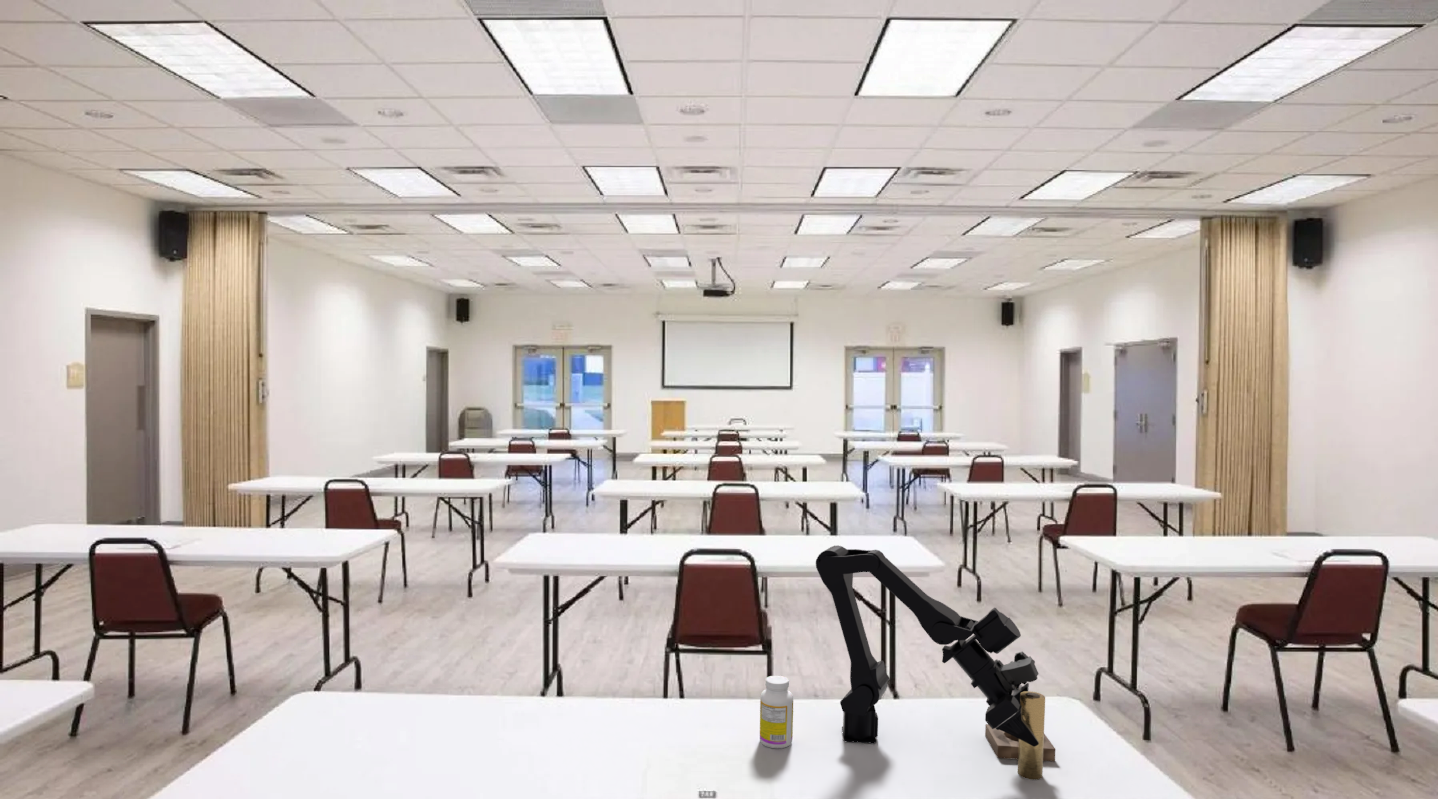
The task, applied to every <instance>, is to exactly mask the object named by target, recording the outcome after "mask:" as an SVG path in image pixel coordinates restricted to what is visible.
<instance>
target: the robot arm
mask: <svg viewBox="0 0 1438 799" xmlns="http://www.w3.org/2000/svg"><path fill="white" fill-rule="evenodd" d="M815 567H816V571H817V572H818V574H819V577H820V579H821V581H822V583H823V584H824V585H825V587H826V589H827V590H828V591H829V592H830V594H831V597H832V600H833V604H834V607H835V611H836V613H837V618H838V621H839V625H840V628H841V631H842V635H843V639H844V642H845V646H846V649H847V652H848V653H847V654H848V657H849V659H850V661H849V662H850V672H849V680H850V681H849V682H850V688H851V689H850V690H849V691H848V692H847V693H846V694H845V696H844V697H843V698H841V700H840V701H839V703H840V706H841V710H842V712H843V713H842V715H843V717H842V719H843V720H842V726H841V733H842V732H843V733H842V738H843V739H844V740H843V739H842V740H843V742H845V741H847V742H846V743H861V744H876V743H877V739H876V738H878V734H879V733H878V732H879V716H878V713H877V712H876V707H875V705H876V704H877V703H878V702H879V700H881V699H882V697H883V696H884V694H885V693H886V691H887V689H888V681H889V680H890V676H888V674H887V672H886V664H885V662H884V660H880V661H877V660H876V658H875V657H874V656H873V653H872V652H871V648H870V645H869V641H868V637H867V633H866V630H865V626H864V623H863V620H862V616H861V612H860V610H859V605H858V603H857V599H856V596H855V592H854V588H853V587H854V586H853V583H854V582H853V579H854V576H853V575H854V574H857V573H869V574H871V575H872V576H873V577H874V578H875V579H876V580H878V581H879V583H880V584H882V586H884V587H885V588H886V589H887V590H888V591H889V592H891V593H892V594H893V595H894V597H896V599H898V600H899V601H900V602H901V603H902V604H903V605H905V607H907V608H908V609H909V610H910V611H911V612H912V614H914V616H915V618H916V619H917V620H918V622H919V624H920V627H921V628H922V629H923V630H924V632H926V635H928V636H929V638H930V639H931V640H932V642H934V643H936V644H938V645H941V646H942V649H941V651H942V660H941V662H942V664H945V663H946V664H947V662H948V661H950V660H951V659H953V660H954V661H955V662H956V664H957V665H958V666H959V667H960V668H961V669H962V671H964V673H965V674H966V675H967V676H968V677H969V679H970V680H971V682H970V685H971V686H972V687H973V689H975V688H978V689H979V691H980V692H981V693H982V694H983V695H984V696H985V697H986V704H987V705H988V707H987V709H986V712H985V719H984V720H985V722H986V724H989V726H990V727H991V728H992V729H994V728H996V729H997V730H1001V731H1004V732H1006V733H1008V734H1010V735H1012V736H1014V737H1016V738H1018V739H1020V740H1022V741H1024V742H1026V743H1028V744H1030V745H1032V746H1034V747H1035V746H1037V745H1038V744H1039V742H1038V740H1037V739H1036V737H1035V735H1034V734H1033V732H1032V731H1031V729H1030V728H1029V726H1028V725H1027V723H1026V722H1025V720H1024V719H1023V717H1022V706H1020V693H1021V692H1024V691H1030V690H1029V688H1030V683H1033V682H1035V681H1037V680H1038V675H1039V671H1038V669H1037V667H1036V661H1035V659H1033V657H1031V655H1030V656H1028V655H1027V654H1026V653H1025V652H1024V651H1019V652H1016V653H1015V654H1014V659H1013V660H1012V661H1010V662H1009V663H1007V664H1006V663H1005V664H1004V663H1003V662H1002V661H1001V660H999V659H995V660H994V659H993V657H991V655H990V654H992V653H994V654H996V655H997V654H999V653H1001V652H1002V651H1003V650H1005V649H1006V648H1007V647H1009V646H1010V645H1011V644H1012V643H1014V642H1015V641H1017V640H1018V639H1019V638H1020V637H1021V631H1020V630H1019V627H1018V626H1017V625H1016V624H1015V622H1014V621H1013V620H1012V618H1010V617H1008V616H1007V615H1005V614H1004V613H1003V612H1002V611H999V610H998V609H997V607H993V608H992V609H991V610H989V611H988V613H987V614H986V615H985V616H983V617H982V618H981V619H980V620H975V619H972V618H968V617H964V616H961V615H960V614H959V613H958V612H957V611H955V610H954V609H952V608H951V607H949V606H948V605H946V604H945V603H944V602H941V601H939V600H937V599H934V598H933V597H931V596H929V595H928V594H927V593H926V592H924V590H923V589H921V587H919V586H918V585H917V584H915V583H914V582H913V581H912V580H911V579H910V578H909V577H908V575H906V574H904V572H902V571H901V570H900V569H899V568H898V567H897V566H896V565H895V564H893V563H892V562H891V560H889V559H888V558H887V557H886V555H885V554H884V553H883V552H882V551H880V550H878V549H872V550H870V549H868V550H866V549H852V548H851V549H847V548H845V547H844V546H841V545H833V546H830V547H828V548H827V549H825V550H824V551H822V552H820V553H819V554H818V556H817V557H816V560H815ZM955 641H956V642H955ZM954 642H955V643H954ZM950 644H952V645H950ZM943 645H944V646H943ZM948 645H949V646H948ZM989 653H990V654H989Z"/></svg>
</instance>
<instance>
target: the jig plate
mask: <svg viewBox="0 0 1438 799" xmlns="http://www.w3.org/2000/svg"><path fill="white" fill-rule="evenodd" d="M984 732H985V733H984V736H985V738H986V740H987V742H988V744H989V746H990V748H991V750H992V751H993V753H994V754H995V756H996V758H997V759H1007V760H1008V759H1009V760H1018V745H1019V739H1018V738H1016V737H1014V736H1012V735H1010V734H1008V733H1006V732H1004V731H1001V730H997V729H996V728H994V729H992V728H991V727H990V726H989V724H988V723H985V730H984ZM1043 762H1053V763H1054V762H1056V747H1054V745H1053V744H1052V742H1051V741H1050V739H1049V737H1048V736H1047V735H1046V734H1045V733H1044V746H1043Z"/></svg>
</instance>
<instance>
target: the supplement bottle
mask: <svg viewBox="0 0 1438 799" xmlns="http://www.w3.org/2000/svg"><path fill="white" fill-rule="evenodd" d="M789 687H790V680H789V678H788V677H786V676H782V675H770V676H767V677H765V689H763V691H761V694H760V696H759V697H760V701H759V702H760V704H759V705H760V706H759V711H760V712H759V741H760V743H761V744H762V745H763V746H765V747H767V748H771V749H784V748H786V747H789V746H790V745H792V743H793V736H794V735H793V730H794V729H793V728H794V723H793V722H794V695H793V693H792V692H791V691H790V690H789Z"/></svg>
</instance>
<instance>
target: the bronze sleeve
mask: <svg viewBox="0 0 1438 799" xmlns="http://www.w3.org/2000/svg"><path fill="white" fill-rule="evenodd" d="M1020 706H1022V717H1023V719H1024V720H1025V722H1026V723H1027V725H1028V726H1029V728H1030V729H1031V731H1032V732H1033V734H1034V735H1035V737H1036V739H1037V740H1038V742H1039V744H1038V745H1037V746H1035V747H1034V746H1032V745H1030V744H1028V743H1026V742H1024V741H1022V740H1020V739H1019V745H1018V759H1017V774H1018V775H1019V776H1020V777H1022V778H1023V779H1026V780H1030V781H1031V780H1032V781H1037V780H1041V779H1042V778H1043V772H1044V771H1043V770H1044V769H1043V768H1044V761H1043V746H1044V734H1045V720H1046V719H1045V715H1046V714H1045V713H1046V696H1045V695H1044V694H1042V693H1041V692H1037V691H1031V690H1028V691H1024V692H1021V693H1020Z"/></svg>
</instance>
